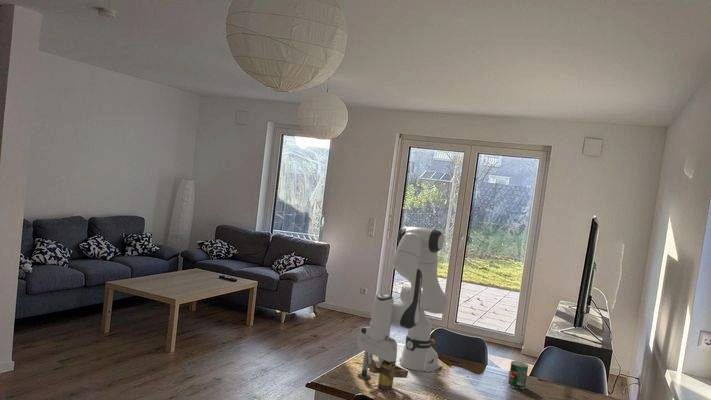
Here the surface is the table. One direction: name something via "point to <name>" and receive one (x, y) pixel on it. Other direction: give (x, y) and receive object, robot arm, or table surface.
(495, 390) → the table surface
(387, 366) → the sauce bottle
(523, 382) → the canned tomato
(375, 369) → the wooden frame with handle
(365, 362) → the grey plunger shape
